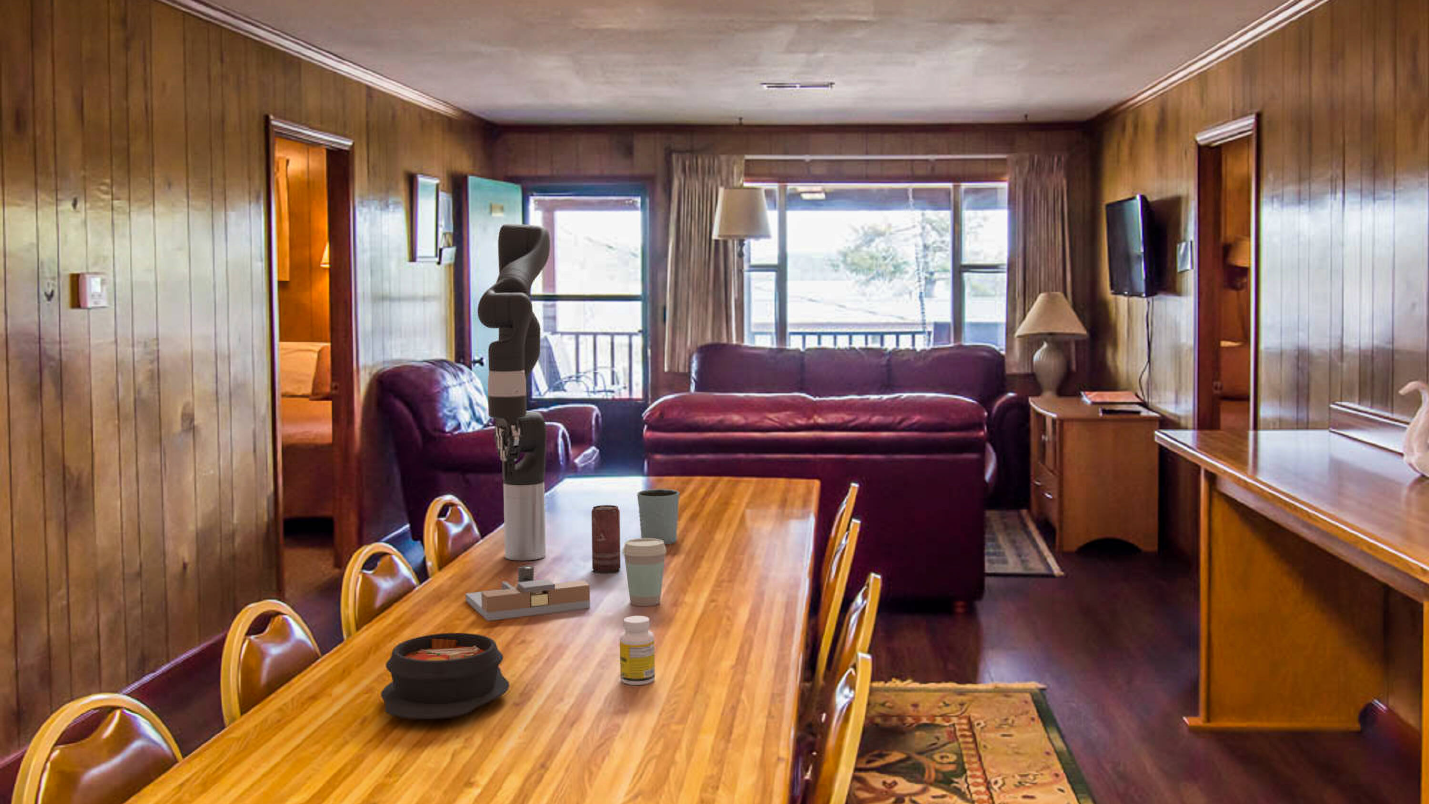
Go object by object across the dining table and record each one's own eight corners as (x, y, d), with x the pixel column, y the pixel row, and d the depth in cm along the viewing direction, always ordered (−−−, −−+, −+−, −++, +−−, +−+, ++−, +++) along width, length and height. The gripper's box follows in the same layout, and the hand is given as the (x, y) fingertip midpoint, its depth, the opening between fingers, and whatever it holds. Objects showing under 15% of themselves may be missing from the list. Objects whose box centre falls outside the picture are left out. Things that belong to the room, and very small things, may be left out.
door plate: (466, 600, 236) (465, 573, 236) (563, 589, 245) (562, 562, 244) (487, 621, 222) (487, 591, 221) (590, 608, 230) (589, 580, 230)
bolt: (516, 594, 234) (515, 566, 234) (532, 592, 236) (531, 565, 235) (531, 606, 225) (530, 577, 225) (547, 604, 227) (547, 575, 226)
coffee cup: (673, 599, 237) (673, 539, 236) (657, 609, 229) (656, 547, 228) (633, 595, 240) (632, 536, 239) (616, 606, 232) (615, 544, 231)
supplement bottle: (620, 675, 190) (619, 614, 189) (654, 674, 190) (653, 613, 190) (620, 686, 185) (619, 624, 184) (655, 685, 185) (655, 623, 184)
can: (617, 574, 258) (616, 509, 257) (588, 572, 259) (587, 508, 258) (624, 567, 264) (624, 504, 263) (597, 566, 265) (596, 503, 264)
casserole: (410, 673, 192) (408, 622, 191) (525, 675, 191) (524, 623, 190) (355, 731, 167) (353, 672, 166) (487, 733, 166) (486, 673, 165)
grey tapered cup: (682, 537, 296) (681, 489, 295) (676, 546, 286) (676, 496, 285) (641, 536, 297) (640, 488, 296) (634, 545, 287) (634, 495, 286)
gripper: (535, 395, 235) (536, 482, 237) (515, 390, 247) (517, 473, 249) (497, 396, 232) (499, 485, 234) (479, 391, 244) (481, 476, 245)
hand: (508, 479), depth 241 cm, fingers closed
